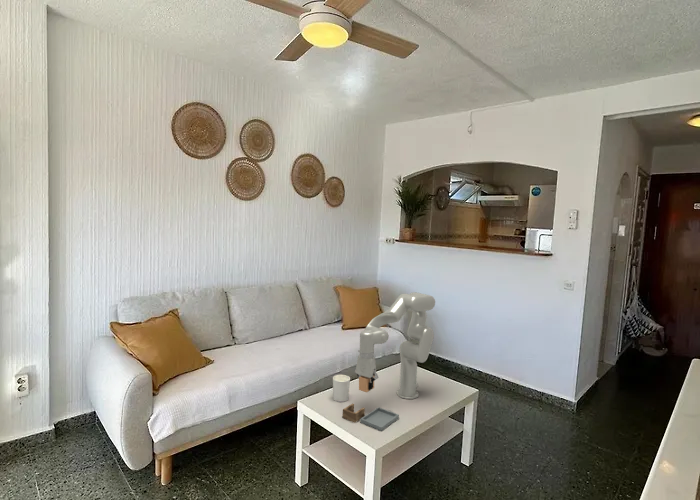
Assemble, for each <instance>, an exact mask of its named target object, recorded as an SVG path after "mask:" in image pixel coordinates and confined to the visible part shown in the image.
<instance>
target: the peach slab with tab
mask: <svg viewBox="0 0 700 500" xmlns="http://www.w3.org/2000/svg"><path fill="white" fill-rule="evenodd" d="M373 377H375V376H373ZM371 380H372V379H371ZM368 386H369V378H367V377H364V376H360V377H358V390H359V391H360V392H364V393H368V392H370V391H371V390H373V389H375V381H373V388H372V389H371V390H369V389H368Z"/></svg>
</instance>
